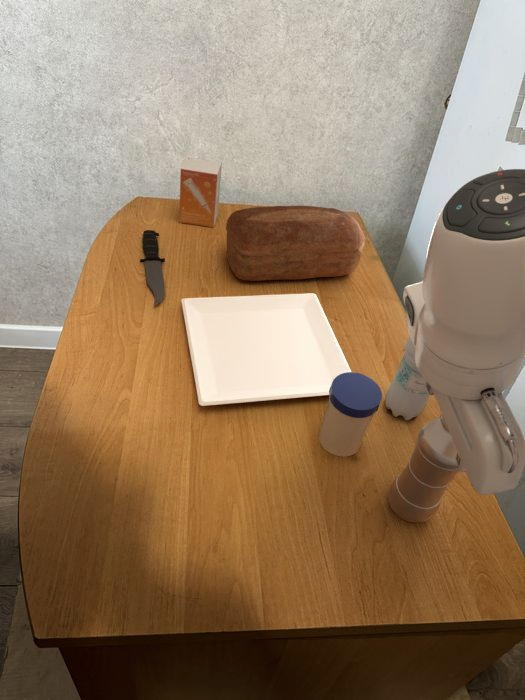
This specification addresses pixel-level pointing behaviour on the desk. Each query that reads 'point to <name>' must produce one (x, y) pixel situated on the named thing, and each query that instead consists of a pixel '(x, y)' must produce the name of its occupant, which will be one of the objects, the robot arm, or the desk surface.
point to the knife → (153, 265)
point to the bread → (292, 243)
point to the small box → (199, 191)
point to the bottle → (407, 387)
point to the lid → (355, 395)
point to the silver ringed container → (425, 474)
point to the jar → (342, 431)
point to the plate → (261, 348)
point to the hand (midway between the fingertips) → (449, 424)
